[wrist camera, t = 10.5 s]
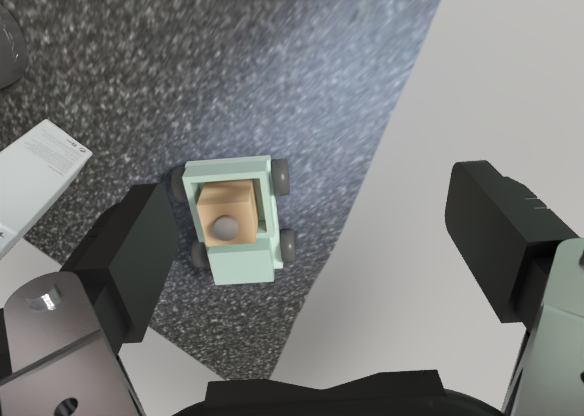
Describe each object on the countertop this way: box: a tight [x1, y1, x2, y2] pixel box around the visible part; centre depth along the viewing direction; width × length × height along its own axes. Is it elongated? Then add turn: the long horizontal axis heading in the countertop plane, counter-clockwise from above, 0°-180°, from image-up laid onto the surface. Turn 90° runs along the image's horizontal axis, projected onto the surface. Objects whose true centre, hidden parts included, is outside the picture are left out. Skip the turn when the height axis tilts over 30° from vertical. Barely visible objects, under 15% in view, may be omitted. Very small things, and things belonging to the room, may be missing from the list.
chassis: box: [171, 155, 296, 285], centre depth 44 cm, size 12×15×6 cm
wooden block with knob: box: [196, 178, 259, 247], centre depth 40 cm, size 5×5×6 cm
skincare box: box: [0, 119, 93, 260], centre depth 37 cm, size 8×6×15 cm
